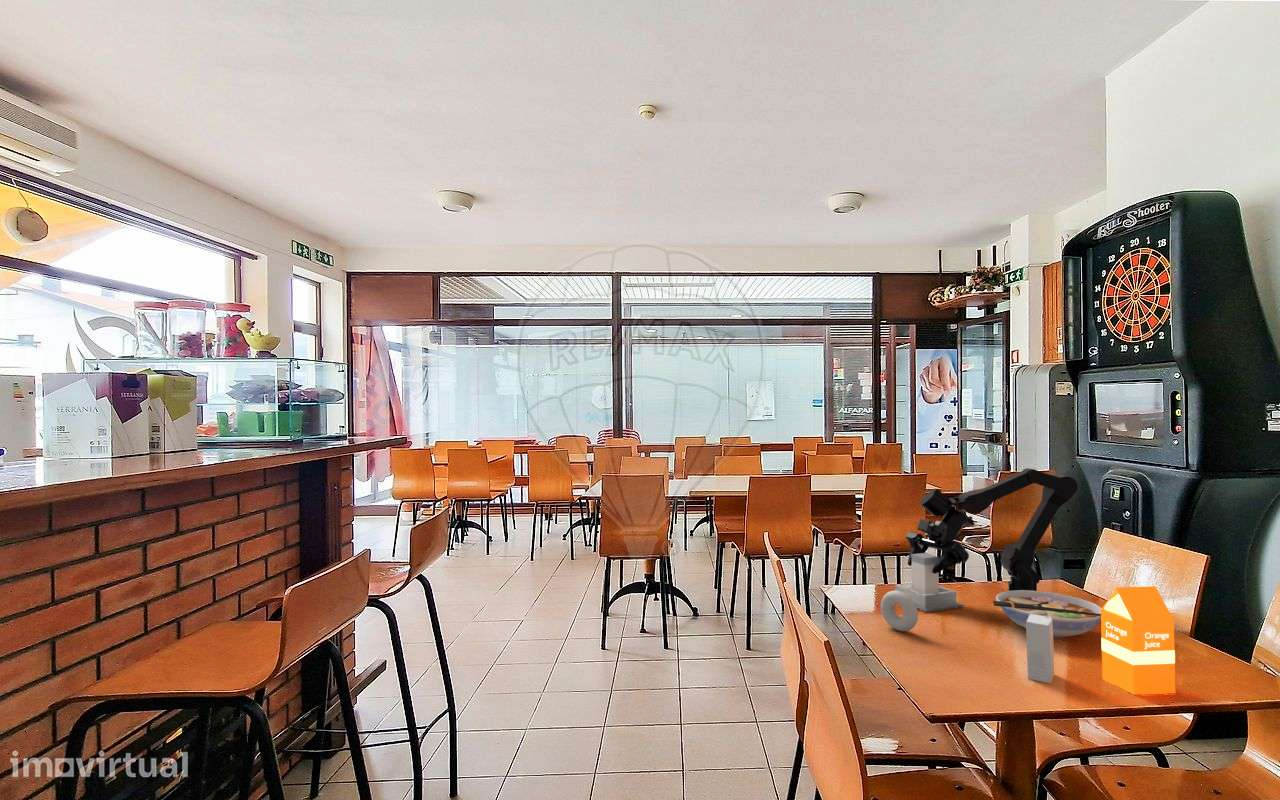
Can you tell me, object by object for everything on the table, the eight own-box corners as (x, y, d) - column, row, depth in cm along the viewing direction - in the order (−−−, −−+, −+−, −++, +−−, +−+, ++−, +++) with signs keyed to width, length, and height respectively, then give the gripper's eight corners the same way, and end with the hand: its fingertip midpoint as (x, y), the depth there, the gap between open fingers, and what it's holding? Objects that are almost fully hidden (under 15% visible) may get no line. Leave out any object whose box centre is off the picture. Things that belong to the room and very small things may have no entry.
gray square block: (925, 597, 181) (925, 552, 181) (939, 602, 176) (938, 556, 176) (912, 598, 179) (911, 554, 179) (925, 603, 175) (924, 558, 175)
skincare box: (1030, 669, 132) (1029, 613, 132) (1054, 674, 130) (1053, 617, 130) (1026, 678, 128) (1025, 621, 128) (1051, 684, 125) (1050, 625, 125)
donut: (878, 625, 159) (877, 587, 159) (886, 623, 161) (885, 585, 161) (912, 638, 151) (912, 597, 151) (921, 635, 152) (920, 594, 153)
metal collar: (925, 592, 185) (925, 581, 185) (956, 603, 174) (956, 591, 174) (895, 597, 181) (895, 585, 181) (925, 608, 170) (925, 596, 170)
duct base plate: (925, 593, 187) (925, 591, 187) (963, 606, 174) (963, 604, 174) (888, 598, 182) (888, 596, 182) (925, 612, 169) (925, 610, 169)
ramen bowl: (1097, 624, 158) (1097, 593, 158) (1124, 658, 138) (1123, 621, 138) (987, 612, 169) (986, 582, 169) (996, 641, 148) (995, 607, 148)
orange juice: (1101, 678, 127) (1099, 582, 128) (1141, 677, 128) (1139, 580, 128) (1134, 696, 120) (1132, 593, 120) (1176, 694, 120) (1174, 592, 120)
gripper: (909, 505, 188) (881, 544, 184) (960, 514, 171) (930, 558, 167) (930, 528, 191) (902, 567, 187) (982, 540, 173) (953, 584, 169)
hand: (920, 568), depth 177 cm, fingers open, 9 cm apart
